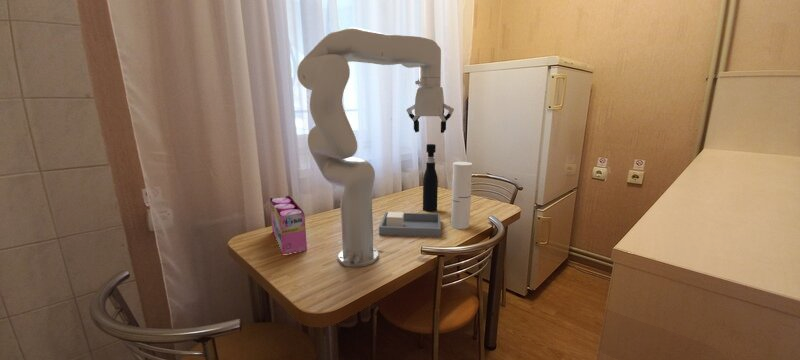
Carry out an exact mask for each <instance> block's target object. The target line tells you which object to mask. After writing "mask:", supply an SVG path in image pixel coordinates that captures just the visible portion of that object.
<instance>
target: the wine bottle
mask: <svg viewBox="0 0 800 360" xmlns="http://www.w3.org/2000/svg"><path fill="white" fill-rule="evenodd" d="M436 146H437V145H436V144H433V143H427V144H426V153H427V158H426V163H425V164H426V168H425V171H424V174H423V179H422V211H423V212H427V213H432V212H438V192H439V191H438V187H439V185H438V182H439V181H438V174H437V170H436V162H435V160H436V159H435V153H436V150H437V149H436Z"/></svg>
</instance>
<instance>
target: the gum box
mask: <svg viewBox="0 0 800 360" xmlns="http://www.w3.org/2000/svg"><path fill="white" fill-rule="evenodd" d="M269 209H270V219H271V229H272V230H271V231H272V233H273V232H274V234H273V236H274V235H275V236H274V238H275V237H276V238H275V241H276V240H277V241H276V243H277V242H278V243H277V245H278V244H279V246H278V248H279V247H280V248H279V250H280V249H281V250H280V252H281V251H282V252H281V254H282V253H283V254H289V253H294V252H299V253H301V252H300V251H304V252H306V251H305V250H307V251H308V246H307V245H308V243H307V232H306V231H307V230H306V229H307V228H306V216H305V211H304V210H303V209H302V208H301V207H300V206H299V205H298V203H297V202H296V201H295V200H294V199H293V197H292V196H291V195H286V196H285V197H279V198H277V197H276V198H273V197H269ZM283 254H282V255H283Z"/></svg>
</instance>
